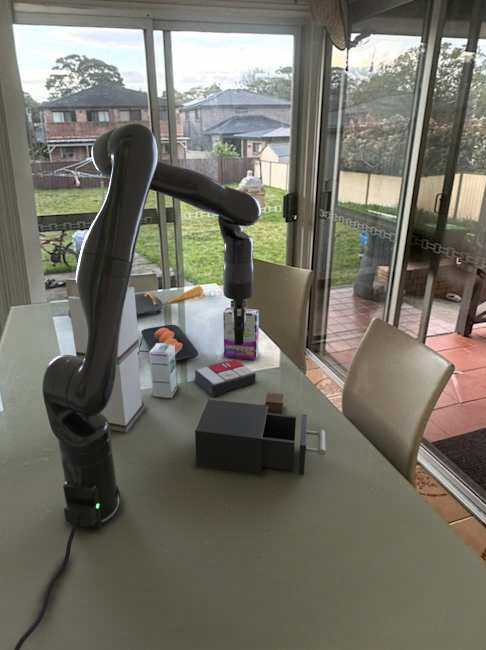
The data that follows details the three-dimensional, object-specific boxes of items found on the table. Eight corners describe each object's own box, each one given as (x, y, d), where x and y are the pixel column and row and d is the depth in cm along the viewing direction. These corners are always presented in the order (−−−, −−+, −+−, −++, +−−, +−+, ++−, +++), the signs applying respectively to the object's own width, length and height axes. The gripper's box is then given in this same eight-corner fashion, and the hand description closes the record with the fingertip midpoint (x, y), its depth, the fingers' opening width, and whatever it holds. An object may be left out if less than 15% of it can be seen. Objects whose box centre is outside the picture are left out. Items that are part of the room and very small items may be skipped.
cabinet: (267, 438, 108) (268, 405, 104) (260, 475, 96) (261, 438, 93) (208, 432, 110) (208, 399, 107) (196, 466, 99) (194, 430, 95)
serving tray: (151, 297, 204) (150, 284, 202) (169, 313, 185) (169, 299, 183) (65, 312, 188) (62, 299, 185) (75, 332, 169) (73, 317, 166)
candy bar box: (258, 353, 150) (259, 309, 144) (256, 360, 146) (257, 314, 140) (226, 350, 153) (226, 306, 147) (223, 357, 148) (223, 311, 142)
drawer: (323, 444, 104) (326, 416, 101) (324, 478, 94) (327, 448, 91) (249, 435, 108) (249, 408, 105) (241, 467, 97) (242, 438, 94)
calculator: (256, 371, 131) (213, 383, 123) (255, 384, 133) (213, 397, 125) (236, 357, 140) (194, 367, 132) (235, 369, 141) (194, 380, 134)
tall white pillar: (144, 408, 120) (134, 287, 107) (126, 432, 111) (112, 301, 98) (107, 402, 123) (92, 283, 110) (86, 425, 114) (67, 297, 101)
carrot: (200, 294, 210) (197, 285, 210) (205, 293, 206) (202, 284, 206) (165, 308, 199) (162, 298, 198) (170, 307, 195) (167, 297, 195)
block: (281, 417, 116) (282, 403, 114) (264, 416, 117) (265, 401, 115) (283, 408, 120) (283, 394, 118) (266, 406, 121) (267, 392, 119)
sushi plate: (201, 360, 146) (200, 350, 145) (109, 377, 136) (108, 367, 134) (176, 328, 171) (176, 319, 170) (97, 340, 161) (96, 331, 160)
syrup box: (172, 398, 125) (169, 352, 119) (152, 396, 126) (148, 351, 121) (177, 388, 130) (175, 343, 125) (158, 386, 131) (155, 342, 126)
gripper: (223, 269, 115) (224, 326, 121) (223, 286, 102) (223, 349, 108) (252, 268, 115) (251, 325, 121) (255, 286, 102) (254, 349, 108)
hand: (238, 336), depth 114 cm, fingers open, 8 cm apart
